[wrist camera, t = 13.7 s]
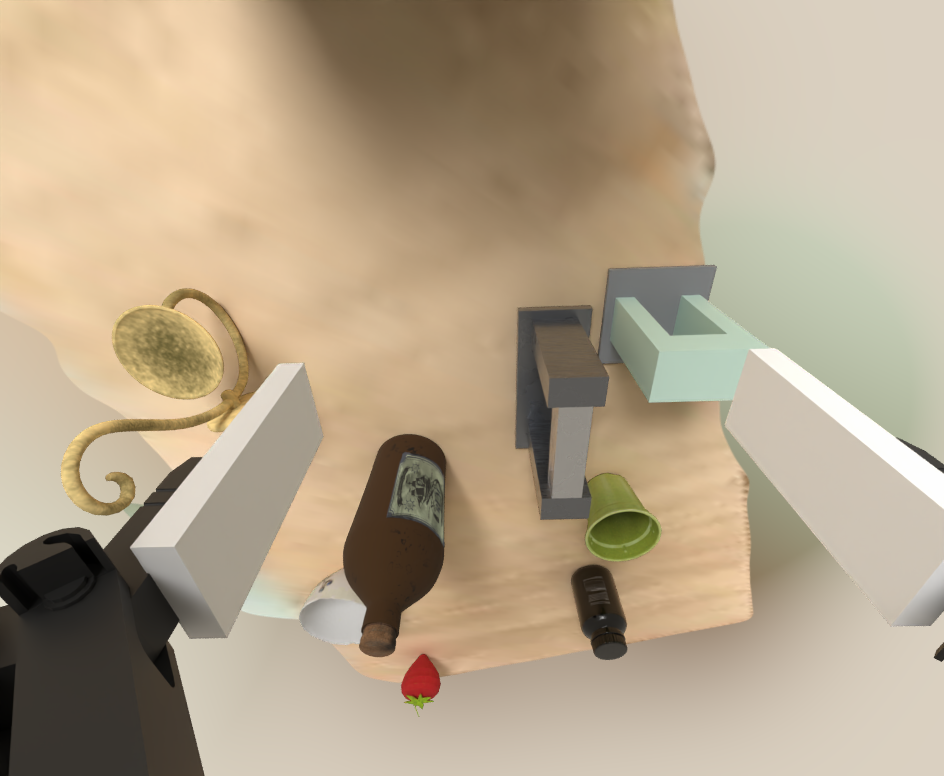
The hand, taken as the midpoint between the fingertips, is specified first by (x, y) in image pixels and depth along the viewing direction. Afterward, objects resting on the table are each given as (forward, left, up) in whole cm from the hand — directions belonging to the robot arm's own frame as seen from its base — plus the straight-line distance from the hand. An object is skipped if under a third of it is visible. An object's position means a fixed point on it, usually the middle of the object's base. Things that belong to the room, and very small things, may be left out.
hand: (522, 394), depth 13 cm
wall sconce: (+12, -29, -35) cm, 47 cm away
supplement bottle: (+58, +16, -35) cm, 70 cm away
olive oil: (+32, -11, -35) cm, 49 cm away
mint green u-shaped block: (+12, +18, -34) cm, 40 cm away
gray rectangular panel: (+12, +18, -35) cm, 41 cm away
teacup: (+58, -23, -35) cm, 71 cm away
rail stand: (+20, +7, -35) cm, 41 cm away
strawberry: (+81, -14, -35) cm, 89 cm away
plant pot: (+38, +16, -35) cm, 54 cm away
